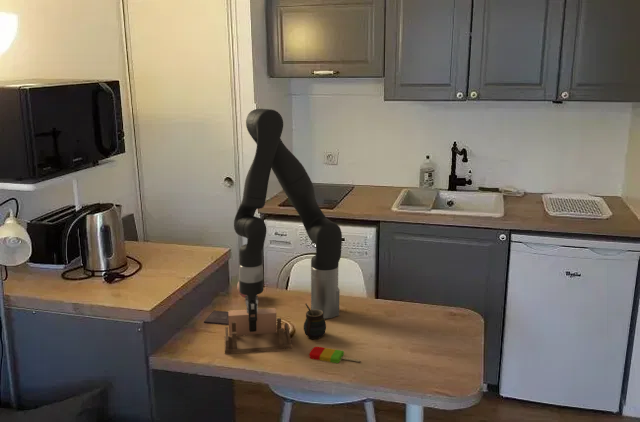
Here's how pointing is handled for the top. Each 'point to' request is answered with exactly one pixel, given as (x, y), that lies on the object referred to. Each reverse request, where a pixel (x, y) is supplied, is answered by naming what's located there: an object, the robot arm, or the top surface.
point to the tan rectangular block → (263, 324)
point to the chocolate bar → (218, 318)
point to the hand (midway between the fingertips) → (252, 325)
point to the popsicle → (329, 355)
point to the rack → (257, 340)
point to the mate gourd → (314, 324)
